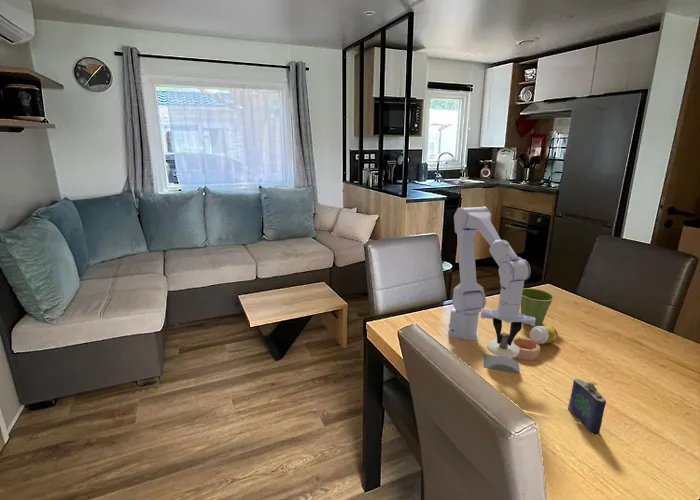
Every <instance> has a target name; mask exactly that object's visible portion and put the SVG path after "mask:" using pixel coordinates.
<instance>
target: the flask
mask: <svg viewBox="0 0 700 500" xmlns="http://www.w3.org/2000/svg"><path fill="white" fill-rule="evenodd" d="M572 381H573V383H572V388H571V393H570V398H569V403H568V407H567V410H568V411H569V412H570V413H571V414H573V415H574V416H575V417H576V418H577V419H578V420H579V421H580V424H581V425H582V424H583V425H584V426H583V425H582V426H583V427H586V428H585V429H586V430H587V431H588V433H590V432H591V433H590V434H592V433H593V435H594V434H598V435H600V430H601V428H602V427H601V426H602V422H603V417H604V413H605V407H606V403H607V400H606V399H605V397H604V396H603V395H602V394H601V393H600V392H599V391H598V389H597V388H596V387H595V386H597V382H594V381H593V382H588V381H586V382H585V381H584V380H583V379H581V378H574V379H573V380H572Z"/></svg>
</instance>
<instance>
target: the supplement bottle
mask: <svg viewBox="0 0 700 500" xmlns="http://www.w3.org/2000/svg"><path fill="white" fill-rule="evenodd" d="M558 336H559V334H558V331H557V329H556V328H555V327H554V326H551V325H540V326H533V327H532V329H531V330H530V332H529V337H530V339H532V340H533V341H535V342H537V343H539V345H541V344H551V343H554V342H556V341H557V340H558Z"/></svg>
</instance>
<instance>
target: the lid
mask: <svg viewBox="0 0 700 500" xmlns="http://www.w3.org/2000/svg"><path fill="white" fill-rule="evenodd" d="M508 342H509V333H506V332H501V334H500V344H498V343H497V339H492V340H489V341H488V342H487V344H486V349H487V351H488V352H490V353H491V354H492V355H495V356H501V357H506V358H512V359H514V358H517V357H516V356H518V355H519V352H520V349H519V348H518V346H516V345H515V344H513V343H511V346H510V345H508Z"/></svg>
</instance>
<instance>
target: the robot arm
mask: <svg viewBox="0 0 700 500" xmlns="http://www.w3.org/2000/svg"><path fill="white" fill-rule="evenodd" d="M453 222H454V223H453V224H454V233H455V234H456V235H457V238H456V239H457V251H458V265H459V266H458V267H459V268H458V269H459V278H460V282H459V283H458V285H456V286H455V287H454V288H453V296H452V299H451V300H452V307H451V308H450V309H451V310H450V315H449V316H450V318H449V323H448V336H449V337H453V338H459V339H460V338H461V339H464V340H465V339H467V340H470V341H471V340H472V341H478V337H479V335H478V333H479V329H478V325H479V323H478V322H479V318H481V319H491V320H492V324H493V325H492V326H493V328H494V330H495V333H496V340H497V343H498V344H500V335H501V333H502V327H503V322H504V323H507V324H510V327H509V328H510V329H509V333H508V335H509V342H508V345H510V346H511V343H512V341H513V339H514V338H515V337H517V335H518V333H519V332H520V331H521V330H522V327H523V326H522V324H524V325H528V324H530V325H529V326H532V327H536V326H535V321H536V320H535V317H530V316H526V315H523V314H521V313H520V312H521V298H522V292H523V289H524V285H525V281H526V280H528V279H529V278H530V276H531V272H532V271H531V266H530V264H529V261H527V259H523V258H522V257H521V256H518V255H517V254H516V252H515V251H514V249H513V248H512V246H511V245H510V243H509V242H508V241H507V240H505V239H501V237H500V236H499V233H498V231H497V230H496V227H495V226H494V225H493V223H492V213H491V212H490V211H489V208H488V207H486V206H479V207H478V206H476V207H458V208H457V210H456V211H455V213H454V215H453ZM477 232H479V233H480V234H481V236H482V237H483V239H484V240H485V241H486V242H487V243H488V245H489V249H488V251H489V253H490V254H491V256H492V258H493V260H494V261H495V263H496V264H497V266H498V276H499V284H500V293H499V299H498V307H497V309H484V308H485V307H486V304H487V298H486V295H485V292H484V291H485V290H484V287H483V286H482V285H481V284H479V283H478V281H477V270H476V256H475V255H476V253H475V244H474V243H475V242H474V241H475V240H474V236H475V234H476V233H477ZM479 315H480V317H479Z"/></svg>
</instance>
